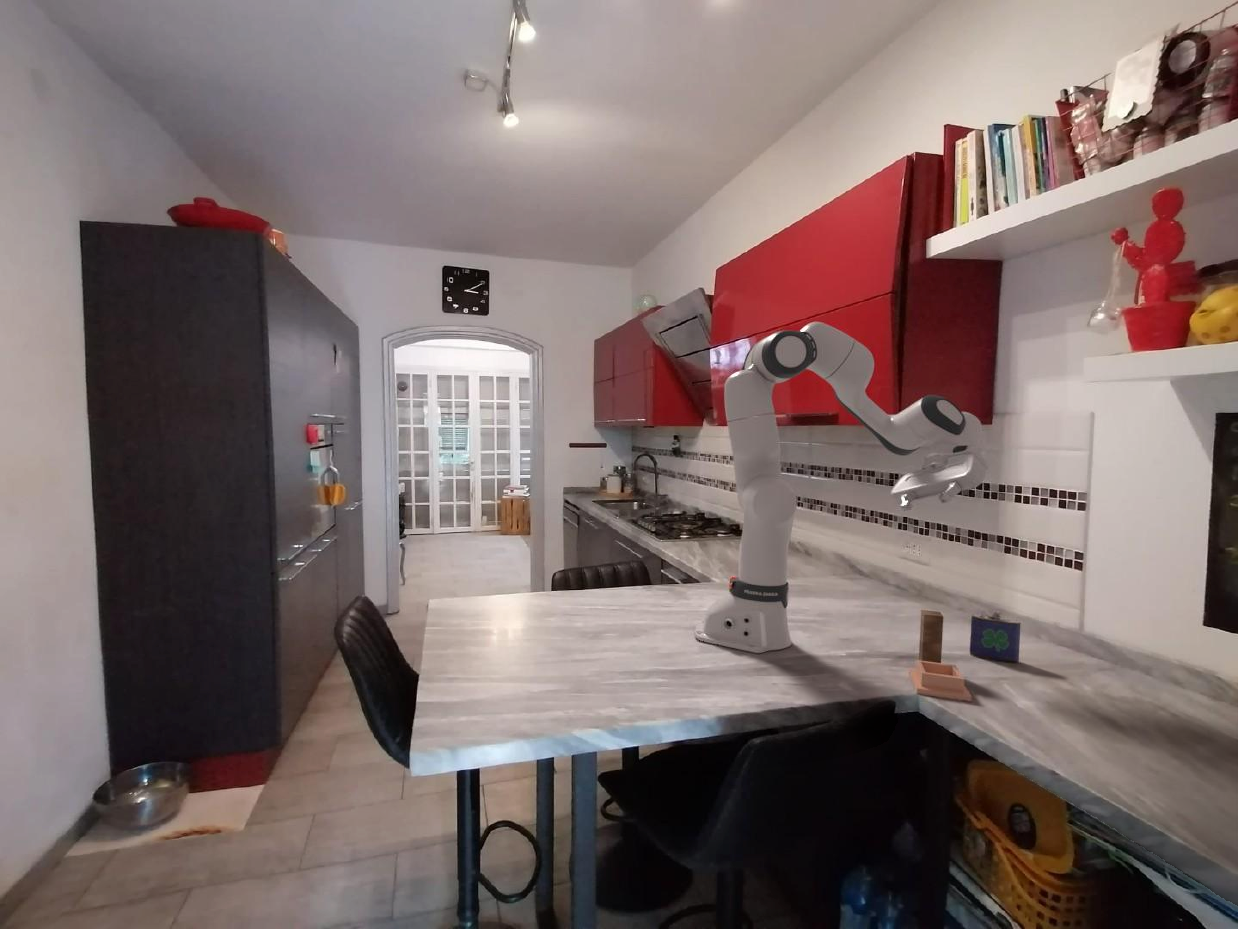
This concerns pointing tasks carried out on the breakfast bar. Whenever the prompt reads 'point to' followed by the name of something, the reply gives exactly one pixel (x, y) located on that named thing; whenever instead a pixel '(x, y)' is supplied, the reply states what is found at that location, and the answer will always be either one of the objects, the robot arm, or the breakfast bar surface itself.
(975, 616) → the flask
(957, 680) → the terracotta holder
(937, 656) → the walnut stick
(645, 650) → the breakfast bar surface
